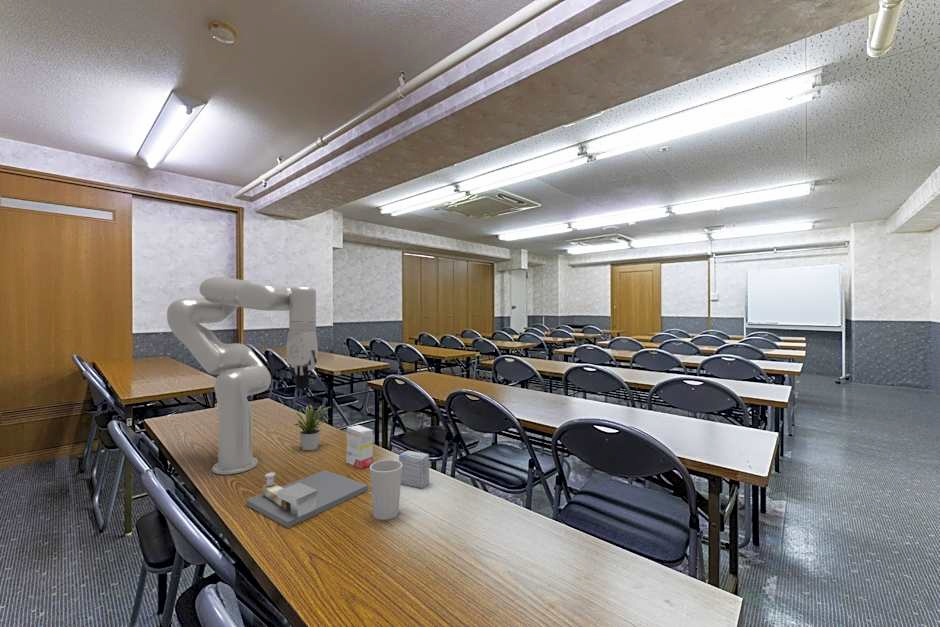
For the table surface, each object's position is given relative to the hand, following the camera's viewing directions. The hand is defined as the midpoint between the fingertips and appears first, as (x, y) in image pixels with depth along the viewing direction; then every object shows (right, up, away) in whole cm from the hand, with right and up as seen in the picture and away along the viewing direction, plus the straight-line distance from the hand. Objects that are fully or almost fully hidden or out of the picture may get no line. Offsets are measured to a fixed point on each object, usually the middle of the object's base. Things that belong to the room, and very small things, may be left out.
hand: (302, 387), depth 123 cm
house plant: (-6, -27, +25) cm, 37 cm away
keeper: (+8, -26, -22) cm, 35 cm away
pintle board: (+7, -27, -13) cm, 31 cm away
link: (+2, -25, -19) cm, 31 cm away
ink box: (+14, -27, +11) cm, 33 cm away
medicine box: (+34, -28, -4) cm, 44 cm away
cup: (+30, -28, -21) cm, 46 cm away
